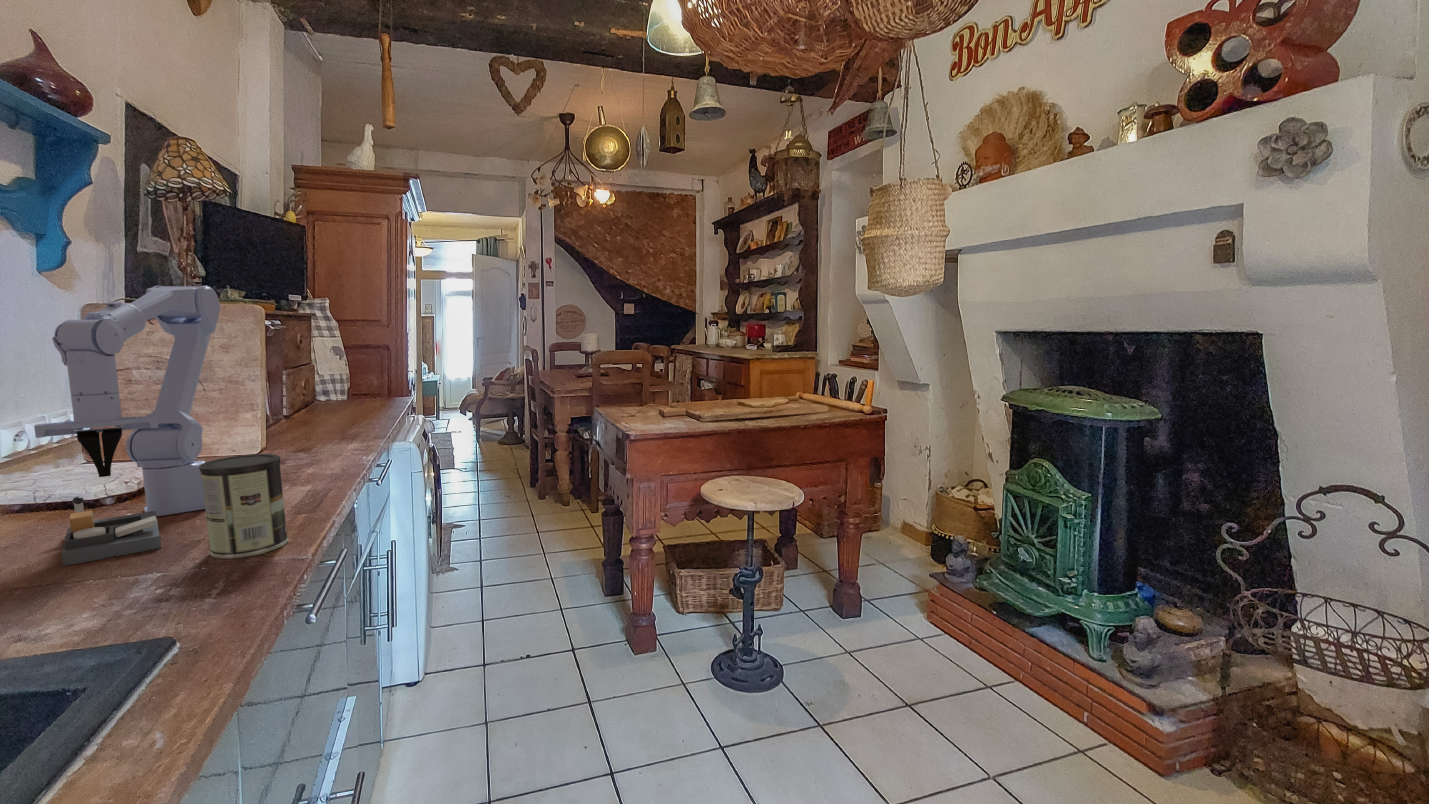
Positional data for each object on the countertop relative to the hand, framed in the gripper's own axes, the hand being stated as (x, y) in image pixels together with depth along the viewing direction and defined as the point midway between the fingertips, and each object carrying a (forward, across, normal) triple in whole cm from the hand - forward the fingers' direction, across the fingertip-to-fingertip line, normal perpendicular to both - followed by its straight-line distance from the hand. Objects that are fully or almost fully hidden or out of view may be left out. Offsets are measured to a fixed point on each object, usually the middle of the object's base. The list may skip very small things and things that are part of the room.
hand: (105, 475), depth 107 cm
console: (+10, 0, -4) cm, 11 cm away
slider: (+8, -3, -3) cm, 9 cm away
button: (+8, -2, -9) cm, 12 cm away
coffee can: (+11, +16, -22) cm, 29 cm away
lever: (+7, -4, +3) cm, 9 cm away
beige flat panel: (+8, +3, -8) cm, 12 cm away
